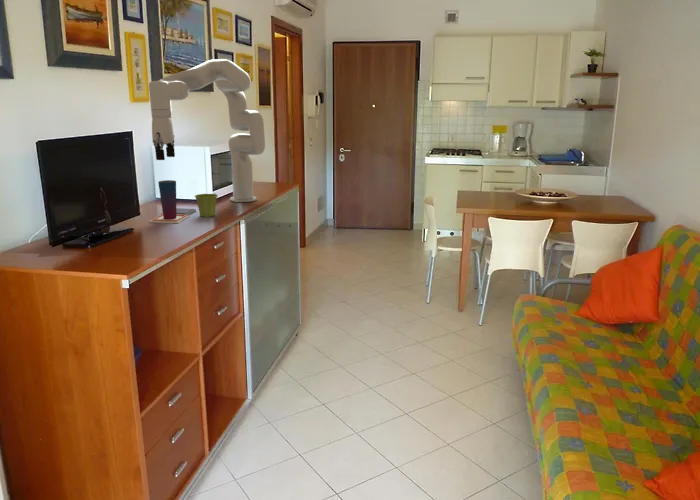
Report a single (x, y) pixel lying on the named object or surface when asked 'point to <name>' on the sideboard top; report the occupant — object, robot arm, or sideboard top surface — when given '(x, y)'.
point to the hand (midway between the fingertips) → (165, 158)
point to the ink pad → (184, 211)
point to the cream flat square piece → (161, 219)
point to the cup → (168, 198)
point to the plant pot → (206, 204)
